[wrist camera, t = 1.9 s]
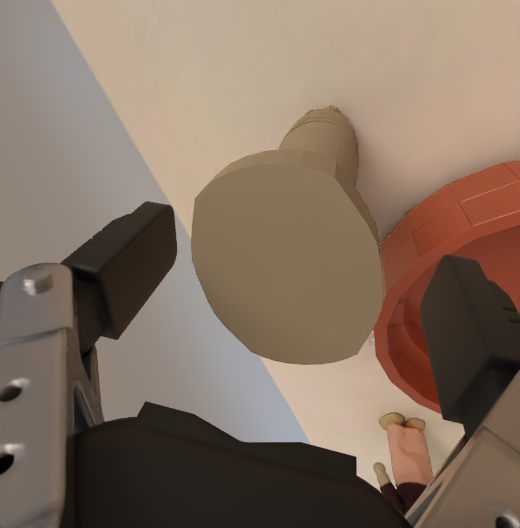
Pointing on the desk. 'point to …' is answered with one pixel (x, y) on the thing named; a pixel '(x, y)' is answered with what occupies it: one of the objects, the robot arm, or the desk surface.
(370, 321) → the handle
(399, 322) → the bowl
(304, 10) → the desk surface
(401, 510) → the grandmother figurine
